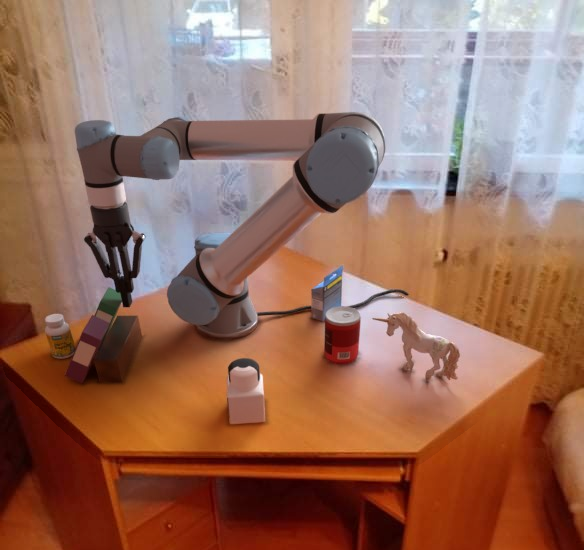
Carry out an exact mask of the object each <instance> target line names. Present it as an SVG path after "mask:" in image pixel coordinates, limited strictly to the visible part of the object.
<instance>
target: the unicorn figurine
mask: <svg viewBox="0 0 584 550" xmlns="http://www.w3.org/2000/svg"><path fill="white" fill-rule="evenodd" d="M387 316H388V317H387V318H379V317H372V318H371V319H372V320H375V321H379V322H382V323H387V326H386V336H388V337H393V335H394V334H395V330H397V329H399V328H400V329H401V330H402V334H401V341H402V343H403V344H402V350H403V354H404V358H405V359H406V361H407V362H406V364H404V365H403V366H402V367H401V369H402V371H403V372H407V371H408V370H409V371H410V372H412V371H413V369H414V366H415V365H414V364H415V363H414V362H413V360H412V359H413V354H412V349H413V350H414V351H417V352H418V353H420V354H429V356H430V358H431V362H432V363H433V367H430V368H428V369H427V370H426V371H425V378H424V379H425V381H429V380H430V379H431V378H432V377H433V376H437V378H441V377H446V378H447V380H448V381H450V380H451V379H453V380H458V379H459V376H457V373H456V370H457V369H458V367H459V365H458V362H459V359H460V357H461V354H460V348H459V347H458V346H457V345H456V343H455V342H450V341H449V340H448V339H446V338H444V337H443V336H439V335H432V334H429V333H427V332H424V331H423V330H422V329H420V326H419V325H418V323H417V322H416V321H415V320H414V318H412V316H411V315H408V314H407V313H405V312H400V311H399V312H395V313H392V314H390V313H388V312H387ZM440 360H442V363H443V364H442V365H443V366H442V369H441V365H440ZM440 369H441V370H440ZM438 370H439V371H438ZM436 371H437V372H436ZM435 372H436V373H435Z"/></svg>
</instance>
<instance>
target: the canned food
mask: <svg viewBox="0 0 584 550" xmlns="http://www.w3.org/2000/svg"><path fill="white" fill-rule="evenodd" d="M361 318H362V316H361V312H360V311H359V310H358V309H357V308H351V307H346V306H345V305H344V306H343V305H341V306H340V307H334V308H331V309H329V310H328V311H327V312H326V314H325V320H324V341H323V342H324V343H323V346H324V347H323V349H324V350H323V353H324V357H325V359H326V360H327V362H329V363H332V364H334V365H341V366H342V365H348V364H352V363H354V362H355V361H356V360H357V358H358V356H359V347H360V334H361V322H362V321H361Z"/></svg>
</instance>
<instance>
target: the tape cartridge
mask: <svg viewBox="0 0 584 550" xmlns="http://www.w3.org/2000/svg"><path fill="white" fill-rule="evenodd" d="M343 270H344V264H341V266H339V267H337V268H336V269H335V270H333V271H332V272H330V273H328V274H327V275H326V276H324V277H323V280H322V281H321V282H319V283H318V284H316V285H315V286H314V287H312V288H311V291H310V294H311V295H310V300H311V301H310V303H311V304H310V306H311V309H310V318H311V319H313V320H316V321H319V322H325V314H326V312H327V311H328V310H329V309H331V308H334V307H340V306H342V294H343V293H342V292H343V290H342V289H343V272H344V271H343Z"/></svg>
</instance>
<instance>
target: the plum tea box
mask: <svg viewBox="0 0 584 550" xmlns="http://www.w3.org/2000/svg"><path fill="white" fill-rule="evenodd" d="M94 315H95V314H94ZM94 315H93V314H92V315H91V316H90V318H89V320H88V321H87V323H86V324H85V326H84V328H83V330H82V331H81V334H80V336H79V339H78V341H77V343H76V345H75V351H74V353H73V355H72V356H71V357H70V358H71V359H70V361H69V363H68V366H67V368H66V371H65V373H64V377H66V378H68V379H70V380H72V381H76V382H77V383H79V384H83V383H84V381H85V379H86V377H87V375H88V374H89V372H90V370H91V368H92V365H93V363H94V359H95V357H96V355H97V353H98V350H99V347H100V345H101V343H102V340H103V338H104V336H105V334H106V331H107V329H108V327H109V324H110V323H109V322H107V321H105V320H102V319H100V318H98V317H96V316H94Z"/></svg>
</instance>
